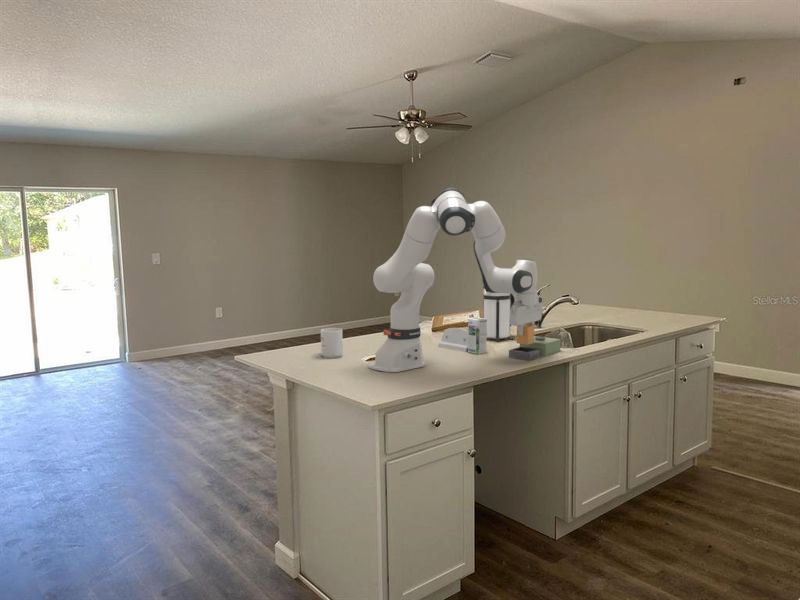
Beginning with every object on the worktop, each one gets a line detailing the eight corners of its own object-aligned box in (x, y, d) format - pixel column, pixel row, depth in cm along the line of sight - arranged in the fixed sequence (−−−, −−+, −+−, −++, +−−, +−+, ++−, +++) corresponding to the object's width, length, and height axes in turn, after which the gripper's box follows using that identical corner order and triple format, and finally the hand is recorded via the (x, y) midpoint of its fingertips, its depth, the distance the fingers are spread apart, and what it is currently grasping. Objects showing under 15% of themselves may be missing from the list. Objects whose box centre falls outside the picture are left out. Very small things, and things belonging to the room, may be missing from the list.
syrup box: (467, 352, 254) (467, 318, 252) (477, 350, 258) (477, 316, 256) (477, 354, 250) (477, 319, 248) (487, 352, 253) (487, 318, 252)
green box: (545, 356, 245) (546, 341, 244) (519, 352, 253) (519, 338, 252) (560, 350, 255) (560, 336, 254) (534, 347, 262) (534, 333, 262)
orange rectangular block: (527, 344, 239) (528, 327, 238) (516, 343, 242) (516, 326, 242) (534, 342, 243) (534, 325, 242) (523, 341, 246) (523, 324, 245)
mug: (347, 356, 249) (346, 329, 248) (328, 359, 244) (327, 332, 242) (331, 351, 258) (331, 326, 257) (313, 354, 253) (312, 328, 252)
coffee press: (515, 342, 273) (516, 276, 270) (479, 342, 276) (480, 276, 272) (514, 335, 290) (515, 273, 286) (480, 335, 293) (481, 273, 289)
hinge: (437, 346, 267) (442, 324, 268) (444, 348, 270) (449, 327, 271) (466, 352, 255) (471, 329, 256) (473, 354, 258) (478, 331, 259)
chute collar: (529, 360, 237) (529, 353, 237) (508, 357, 243) (508, 350, 243) (540, 356, 244) (540, 349, 244) (520, 353, 250) (520, 346, 250)
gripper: (519, 303, 231) (519, 338, 232) (545, 297, 246) (544, 331, 248) (505, 301, 235) (505, 336, 237) (531, 296, 250) (530, 329, 252)
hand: (525, 334), depth 242 cm, fingers closed on orange rectangular block, 5 cm apart
